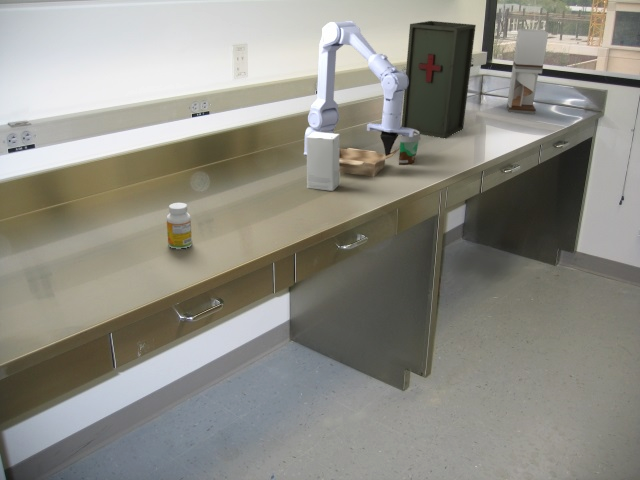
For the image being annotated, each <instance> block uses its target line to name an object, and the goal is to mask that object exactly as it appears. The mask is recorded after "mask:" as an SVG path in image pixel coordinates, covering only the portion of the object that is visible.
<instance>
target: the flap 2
mask: <svg viewBox="0 0 640 480" xmlns="http://www.w3.org/2000/svg"><path fill="white" fill-rule="evenodd" d="M398 151H400V147H399V148H395V149H394V150H391V152H390V154H389V155H388V156H385V155H384V156H383V157H382V158H381V159H380V160H378V162H380V161H383V160H385V161H386V160H387V159H390V158H392V157H393V156H394V155H395V154H396V153H397V152H398Z"/></svg>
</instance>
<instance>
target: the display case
mask: <svg viewBox="0 0 640 480" xmlns="http://www.w3.org/2000/svg"><path fill="white" fill-rule="evenodd" d="M549 34H550V33H549V32H548V31H547V32H546V30H545V29H531V28H518V29H517V34H516V43H515V47H514V48H515V49H514V50H515V51H514V54H513V55H514V57H513V61H512V69H511V77H510V83H509V90H508V97H507V103H506V109H507V111H508V113H511V112H515V114H516V113H517V114H526V113H529V114H531V115H536V112H537V111H536V110H537V109H536V107H535V106H534V101H535V95H536V89H537V84H538V77H539V74H540V75H542V74H543V68H544V62H545V56H546V50H547V44H548V38H549Z"/></svg>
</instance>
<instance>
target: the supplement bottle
mask: <svg viewBox="0 0 640 480" xmlns="http://www.w3.org/2000/svg"><path fill="white" fill-rule="evenodd" d="M168 210H169V211H168V212H169V214H167V216H166V230H167V231H166V232H167V233H166V234H167V244H168V246H169V248H170V247H171V249H172V248H176V249H175V250H182V249H181V248H186V249H188V248H187V247H189V248H190V247H191V246H192V245H193V234H192V218H191V214H189V213H188V204H187V203H185V202H174V203H171V204H169V205H168Z"/></svg>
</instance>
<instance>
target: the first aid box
mask: <svg viewBox="0 0 640 480" xmlns="http://www.w3.org/2000/svg"><path fill="white" fill-rule="evenodd" d="M476 26H477V25H476V24H470V23H461V22H460V23H459V22H457V23H456V22H446V21H438V20H437V21H436V20H435V21H433V20H428V21H421V22H413V23H410V24H409V30H408V31H409V33H408V44H407V57H406V69H405V73H406V75H407V77H408V80H409V84H408V87H407V88H406V89H405V90H404V95H403V105H402V114H401V127H404V128H411V129H415V130H417V131H419V133H420V135H423V136H427V135H428V136H429V137H433V136H434V138H438V137H440V138H441V139H444V138H445V139H447V138H450V137H451V136H453V135H455V134H457V133H459V132H461V131H463V130H464V123H465V117H466V108H467V99H468V92H469V91H468V90H469V84H470V75H471V66H472V58H473V50H474V41H475V34H476V33H475V32H476ZM462 129H463V130H462ZM460 130H461V131H460ZM458 131H459V132H458ZM456 132H457V133H456ZM454 133H455V134H454ZM452 134H453V135H452Z"/></svg>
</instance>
